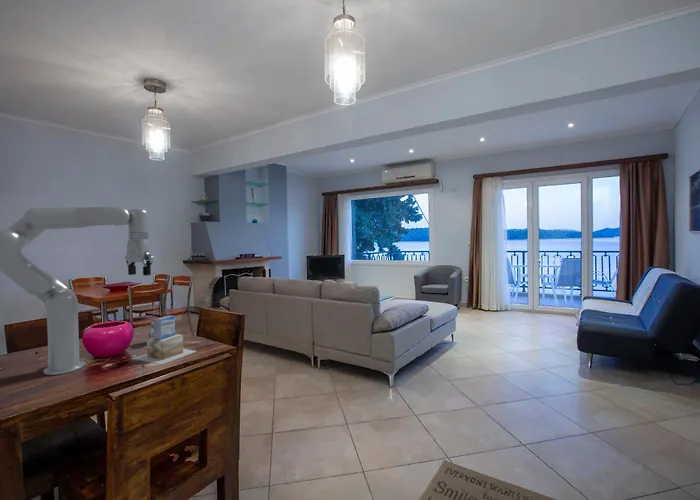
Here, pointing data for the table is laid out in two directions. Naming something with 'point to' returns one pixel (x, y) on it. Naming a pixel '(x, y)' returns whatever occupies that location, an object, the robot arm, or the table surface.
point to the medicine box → (163, 327)
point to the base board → (160, 361)
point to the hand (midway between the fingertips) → (139, 274)
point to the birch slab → (165, 342)
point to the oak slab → (164, 352)
